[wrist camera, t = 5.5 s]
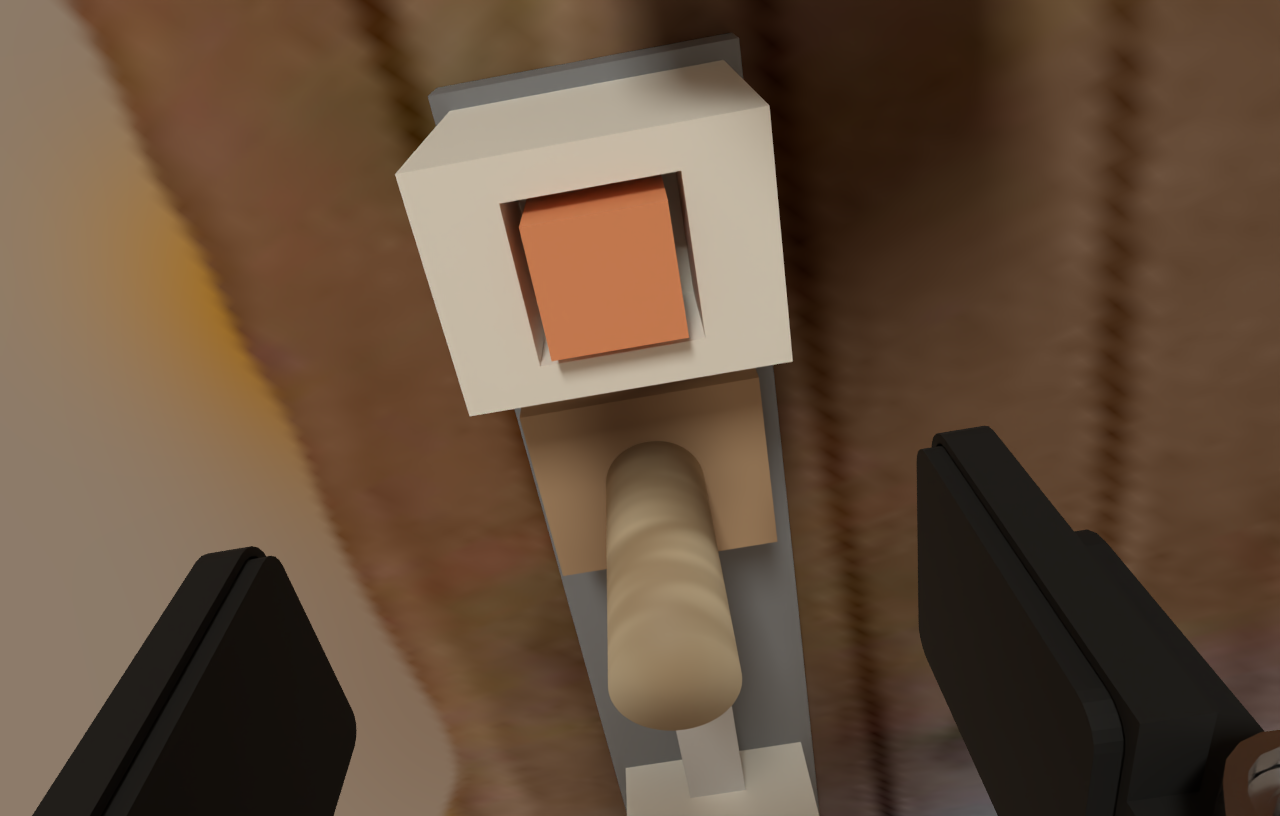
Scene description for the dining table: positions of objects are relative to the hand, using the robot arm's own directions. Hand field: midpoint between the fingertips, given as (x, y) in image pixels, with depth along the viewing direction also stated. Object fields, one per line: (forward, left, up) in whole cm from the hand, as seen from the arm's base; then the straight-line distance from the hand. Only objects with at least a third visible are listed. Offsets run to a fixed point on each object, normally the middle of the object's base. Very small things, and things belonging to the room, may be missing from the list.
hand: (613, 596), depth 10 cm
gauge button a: (0, 0, -14) cm, 14 cm away
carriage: (0, +8, -16) cm, 18 cm away
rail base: (0, +14, -20) cm, 25 cm away
